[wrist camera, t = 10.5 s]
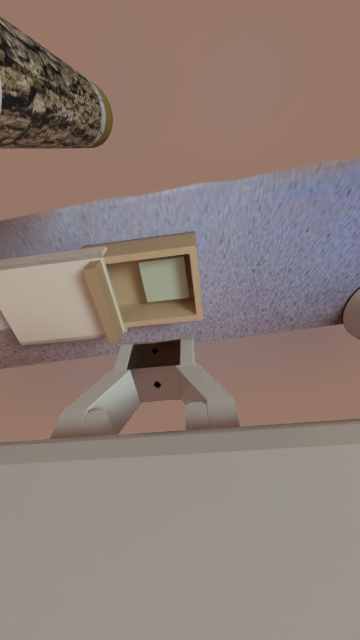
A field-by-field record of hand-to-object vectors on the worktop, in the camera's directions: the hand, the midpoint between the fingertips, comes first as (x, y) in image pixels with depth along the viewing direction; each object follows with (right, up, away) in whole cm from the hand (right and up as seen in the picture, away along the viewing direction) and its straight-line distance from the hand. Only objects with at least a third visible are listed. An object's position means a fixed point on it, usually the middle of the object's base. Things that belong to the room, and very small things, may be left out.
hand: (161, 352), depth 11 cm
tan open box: (-5, +9, +34) cm, 35 cm away
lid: (-18, +5, +31) cm, 36 cm away
